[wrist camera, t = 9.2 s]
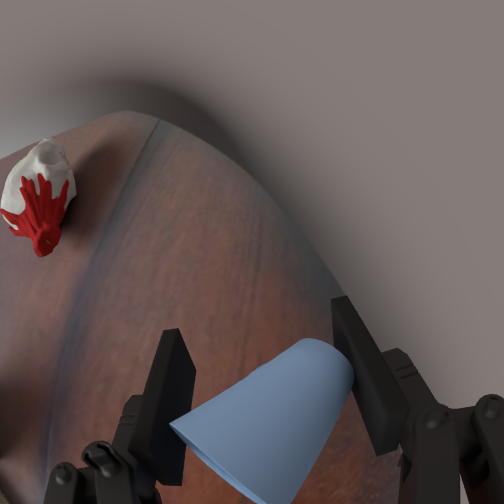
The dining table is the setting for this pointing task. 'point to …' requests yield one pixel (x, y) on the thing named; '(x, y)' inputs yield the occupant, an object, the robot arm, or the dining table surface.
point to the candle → (39, 195)
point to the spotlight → (272, 421)
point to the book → (4, 498)
